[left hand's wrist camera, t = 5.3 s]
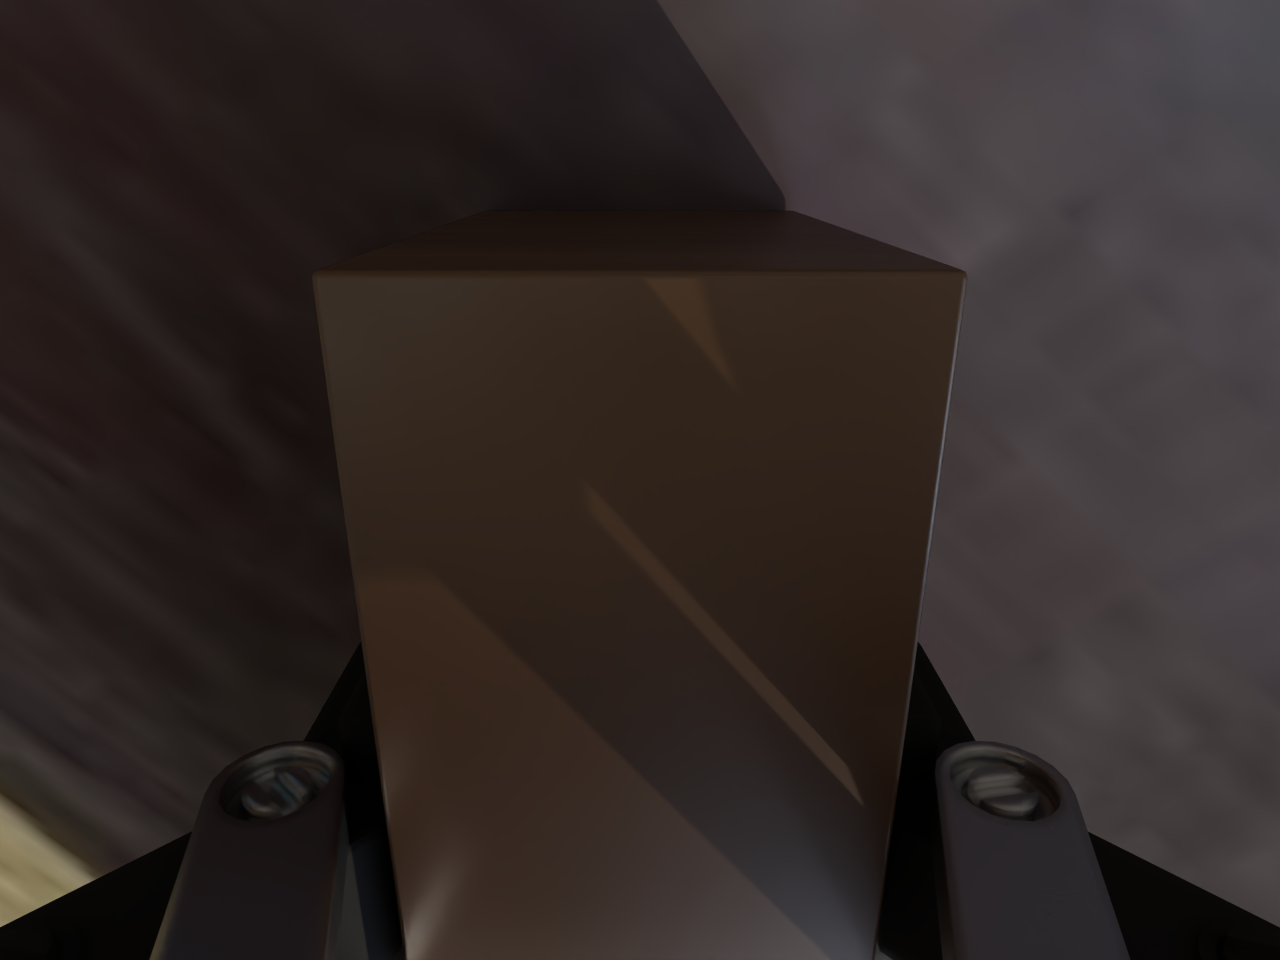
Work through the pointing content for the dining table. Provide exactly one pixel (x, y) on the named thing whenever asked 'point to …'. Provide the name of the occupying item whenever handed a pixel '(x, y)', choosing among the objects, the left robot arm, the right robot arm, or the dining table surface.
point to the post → (639, 572)
